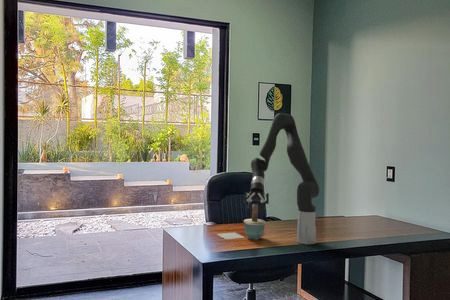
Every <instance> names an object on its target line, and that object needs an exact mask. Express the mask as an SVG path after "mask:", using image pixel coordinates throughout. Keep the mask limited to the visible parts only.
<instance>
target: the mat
mask: <svg viewBox="0 0 450 300" xmlns="http://www.w3.org/2000/svg"><path fill="white" fill-rule="evenodd" d="M216 235H217V236H219V237H221V238H222V239H225V240H233V239H242V238H243V239H244V238H246V237H245V236H243V235H241V234H239V233H237V232H224V233H216Z"/></svg>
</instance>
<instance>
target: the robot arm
mask: <svg viewBox="0 0 450 300" xmlns="http://www.w3.org/2000/svg"><path fill="white" fill-rule="evenodd" d="M281 130H284V132H285V134H286V137H287V144H286V145H287V146H286V154H287V156H288V159H289V161H290V165H292V166H293V168H294V169H295V171H296V172H298V173H299V175H300V177H301V179H302V181H301V182H299V184H298V185H297V190H296V203H297V232H296V236H297V237H296V243H298V244H301V245H315V244H316V242H317V241H316V239H317V238H316V237H317V236H316V235H317V226H316V210H317V209H316V206H315V205H314V204H313V203H312V199H315V198H317V197H318V196H319V195H320V194H319V193H320V187H319V184H318V182H317V180H316V178H315V177H316V176H314V174H313V171H312V169H311V167H310V166H311V165H310V164H309V161H308V159H307V154H306V152H305V150H304V148H303V145H302V141H301V140H300V137H299V136H300V135H299V133H298V130H297V125H296V122H295V118H294V116H293V115H292V114H290V113H285V112H279V113H277V114H276V115H275V116H274V117H273V120H272V123H271V125H270V128H269V132H268V134H267V138H266V140H265V142H264V143H263V146H262V147H261V149H260V151H259V156H260V157H261V158H263V159H261V158H259V157H254V158H253V159H252V160H251V162H250V167H251V172H252V177H251V178H252V179H251V182H250V191H249V192H247V191H245V192H244V194H243V199H242V201H243V203H244V204H245V208H246V209H247V210H248V209H249V204H250V203H251V202H252V201H254V202H256V201H257V202H260V203H262V211H264V210H265V209H266V205H269V203H270V201H269V199H270V197H269V193H268V192H267V193H264V188H265V172H266V171H268V168H269V165H270V164H269V163H270V160H271V157H272V155H273V154H274V151H275V149H276V147H277V138H278V135H279V133H280V132H281ZM264 198H266V200H265V199H264Z"/></svg>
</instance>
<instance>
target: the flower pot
mask: <svg viewBox="0 0 450 300" xmlns="http://www.w3.org/2000/svg"><path fill="white" fill-rule="evenodd" d="M243 223H244V222H243ZM264 230H265V224H264V225H248V224H245V223H244V232H245V236H246V238H247V239H248V240H256V241H257V240H260V239H261V238H262V236H263V234H264Z"/></svg>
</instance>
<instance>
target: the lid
mask: <svg viewBox="0 0 450 300" xmlns="http://www.w3.org/2000/svg"><path fill="white" fill-rule="evenodd" d="M251 206H252V207H251V209H252V210H251V218H247V219H244V220H243V223H245V224H248V225H264V226H265V225H266V221H265V220H264V219H260V218H259V217H258V215H259V204H254V203H253V204H251ZM258 218H259V219H258ZM245 224H244V225H245Z"/></svg>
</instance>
